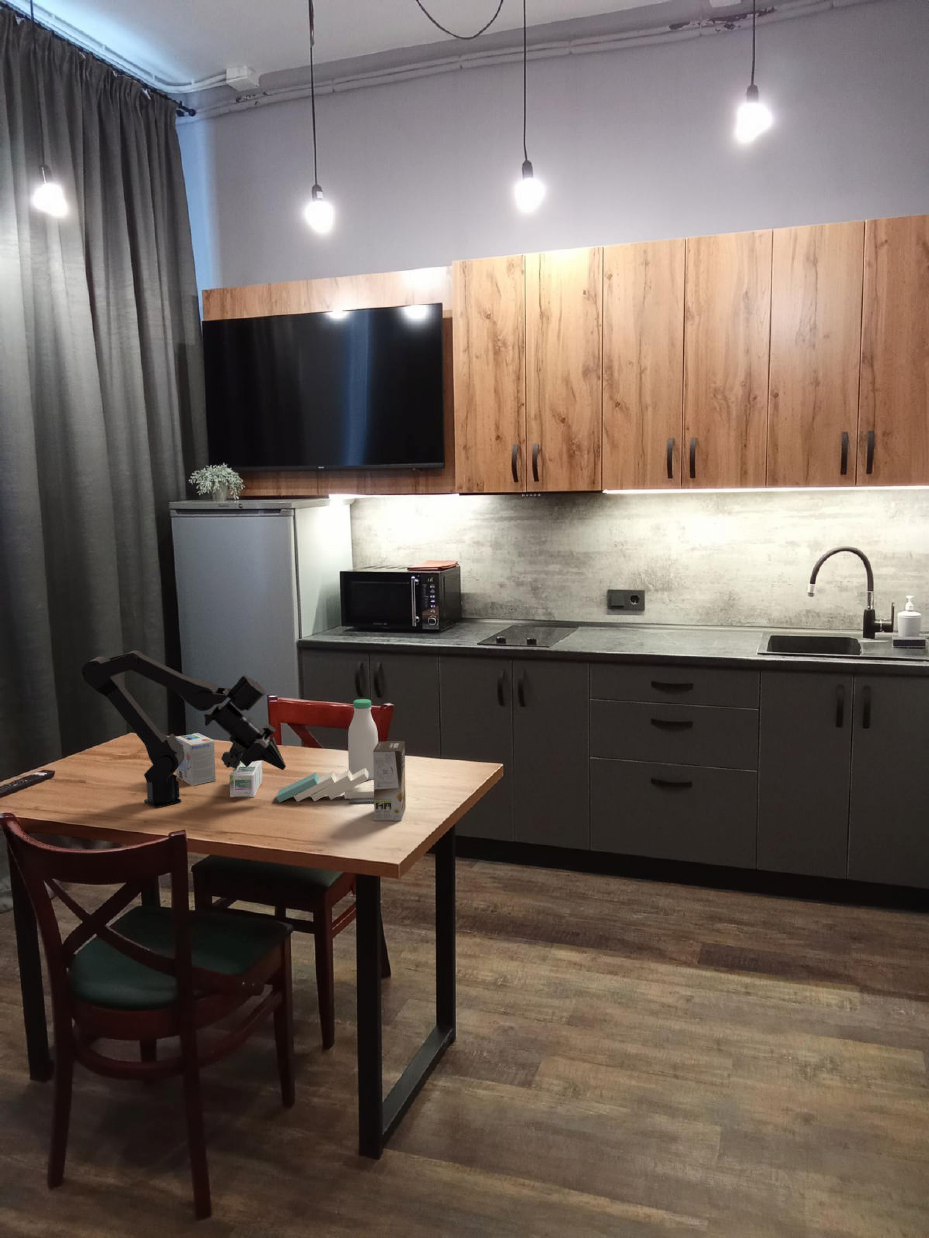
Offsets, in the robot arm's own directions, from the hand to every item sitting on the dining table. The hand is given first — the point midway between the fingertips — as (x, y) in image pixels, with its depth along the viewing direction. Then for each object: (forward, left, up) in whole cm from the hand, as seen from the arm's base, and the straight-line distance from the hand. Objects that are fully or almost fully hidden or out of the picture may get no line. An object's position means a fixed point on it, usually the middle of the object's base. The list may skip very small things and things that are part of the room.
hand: (284, 768), depth 227 cm
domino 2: (+2, -2, -7) cm, 7 cm away
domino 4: (+8, -7, -6) cm, 13 cm away
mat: (+16, -13, -8) cm, 22 cm away
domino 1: (-1, +1, -7) cm, 7 cm away
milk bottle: (+25, +2, -8) cm, 26 cm away
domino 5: (+11, -9, -6) cm, 16 cm away
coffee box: (+11, -26, -8) cm, 30 cm away
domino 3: (+5, -4, -7) cm, 10 cm away
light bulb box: (-7, +31, -8) cm, 32 cm away
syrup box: (+2, +19, -5) cm, 20 cm away
